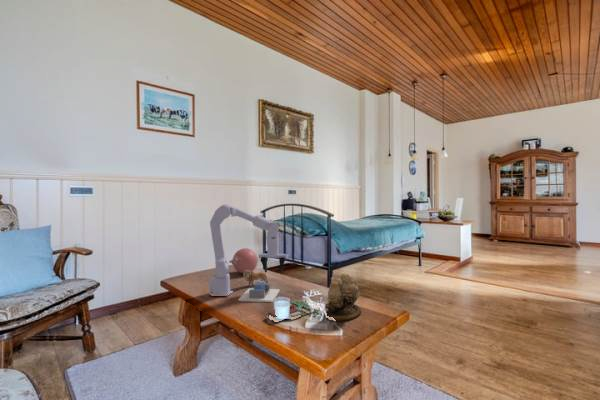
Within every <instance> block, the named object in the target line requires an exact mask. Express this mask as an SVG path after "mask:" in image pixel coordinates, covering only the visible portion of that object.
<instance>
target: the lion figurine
mask: <svg viewBox="0 0 600 400" xmlns="http://www.w3.org/2000/svg"><path fill="white" fill-rule="evenodd" d="M242 274H243V278H244V280H245V281H246V282H248V284H247V286H248V287H251V288H254V281H259V280H260V281H265V283H266V284H268V283H269V280H268V279H267V278H268V277H267V275H266V273H265V272H264V271H259V272H256V273H255V272H253V271H249V270H245V271H244V273H242ZM249 285H250V286H249Z"/></svg>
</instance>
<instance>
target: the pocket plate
mask: <svg viewBox="0 0 600 400" xmlns="http://www.w3.org/2000/svg"><path fill="white" fill-rule="evenodd" d="M270 287H271V285H270V283H267V284H266V285H265V290H261V291H253V289H254V287H251V288H250V287H249V288H247V290H246V291H245V292H244V293H243V294H242V295H241V296H240V297H239V298H238V302H253V303H256V302H257V303H273V302H274V301H275V299H276V297H277V295H279V293H280V288H279V289H278V288H270ZM274 298H275V299H274ZM273 300H274V301H273Z"/></svg>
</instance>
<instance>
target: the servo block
mask: <svg viewBox="0 0 600 400" xmlns="http://www.w3.org/2000/svg"><path fill="white" fill-rule="evenodd" d="M265 285H266V282H265V281H264V280H263V281H261V280H260V281H259V280H256V282H255V283H254V284H253V288H254V289H253V291H261V290H265Z"/></svg>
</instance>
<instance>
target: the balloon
mask: <svg viewBox="0 0 600 400" xmlns="http://www.w3.org/2000/svg"><path fill="white" fill-rule="evenodd" d="M258 258H259V257H258V255H257V254H256V252H255V251H254V250H252V249H250V248H247V247H246V248H245V247H244V248H241V249H239V250H238V249H237V251H236V252H235V253H234V255H233V257H232V259H230V260H228V264H229V263H231V264H232V266H233V268H234V270H236V271H237V272H238V273H240V274H243V273H244V271H245V270H249V271H252V272H253V271H255V269H256V267H257V266H258Z"/></svg>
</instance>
